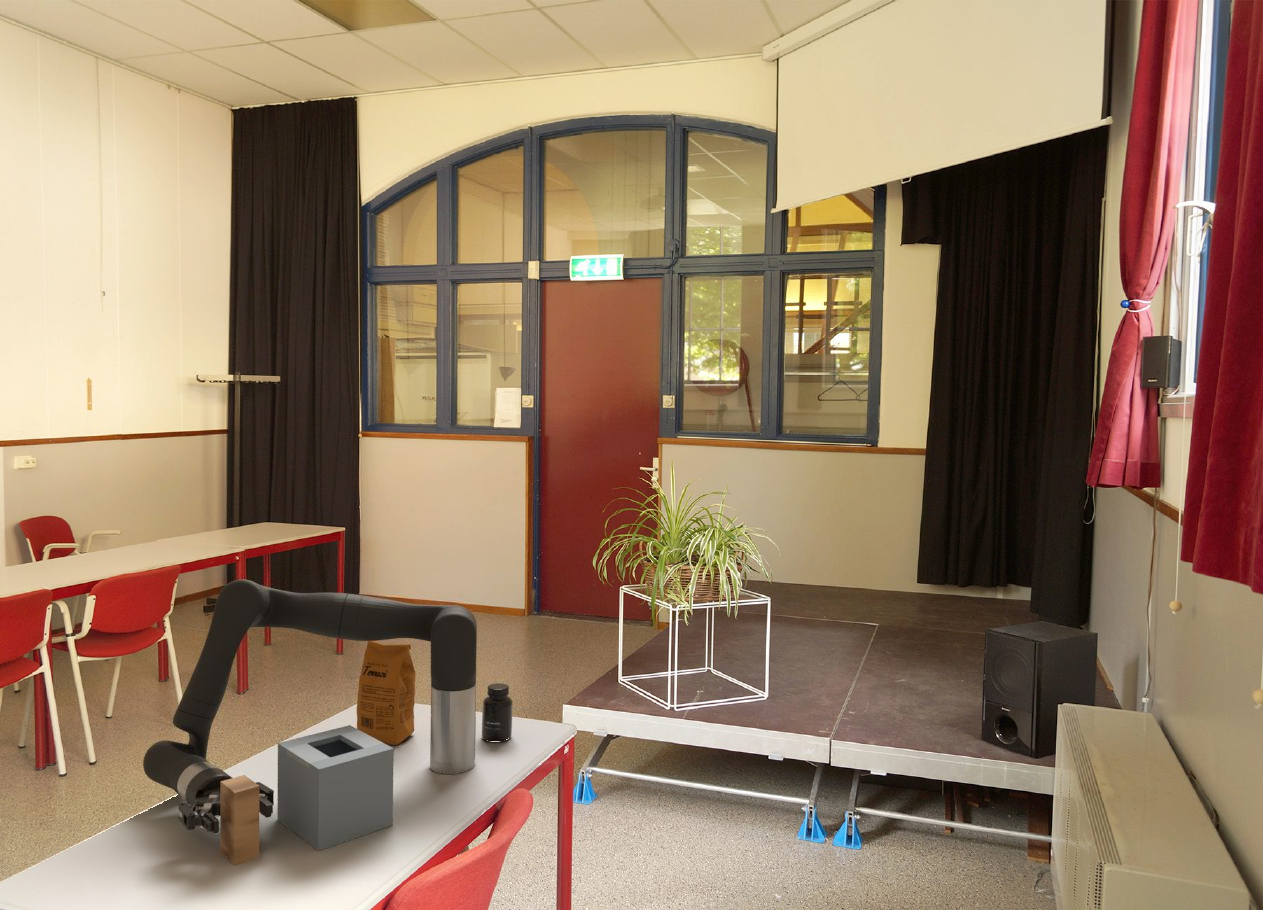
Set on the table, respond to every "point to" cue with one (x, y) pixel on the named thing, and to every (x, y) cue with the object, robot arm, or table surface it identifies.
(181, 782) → the robot arm
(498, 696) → the supplement bottle
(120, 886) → the table surface
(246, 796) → the wooden block
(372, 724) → the coffee package
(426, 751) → the table surface
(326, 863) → the table surface
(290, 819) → the grey box with opening
